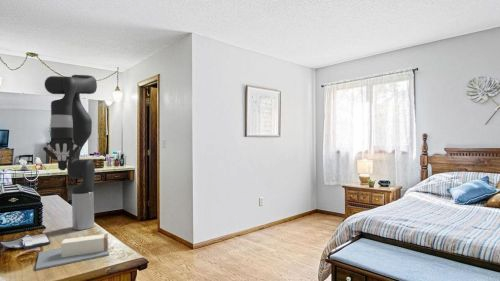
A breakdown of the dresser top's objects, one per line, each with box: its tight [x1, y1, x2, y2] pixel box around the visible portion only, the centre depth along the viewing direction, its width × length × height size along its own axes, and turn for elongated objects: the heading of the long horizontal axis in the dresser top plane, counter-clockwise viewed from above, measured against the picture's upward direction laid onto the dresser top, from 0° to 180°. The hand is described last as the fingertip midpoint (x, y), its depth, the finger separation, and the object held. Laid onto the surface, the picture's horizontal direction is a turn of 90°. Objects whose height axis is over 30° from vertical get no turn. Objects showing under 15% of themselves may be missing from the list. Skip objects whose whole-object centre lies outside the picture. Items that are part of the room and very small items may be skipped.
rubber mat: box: [35, 247, 110, 271], centre depth 110 cm, size 17×22×1 cm
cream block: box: [60, 233, 109, 257], centre depth 111 cm, size 5×5×15 cm
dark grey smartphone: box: [22, 233, 51, 250], centre depth 124 cm, size 9×2×16 cm
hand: (62, 170), depth 117 cm, fingers closed
